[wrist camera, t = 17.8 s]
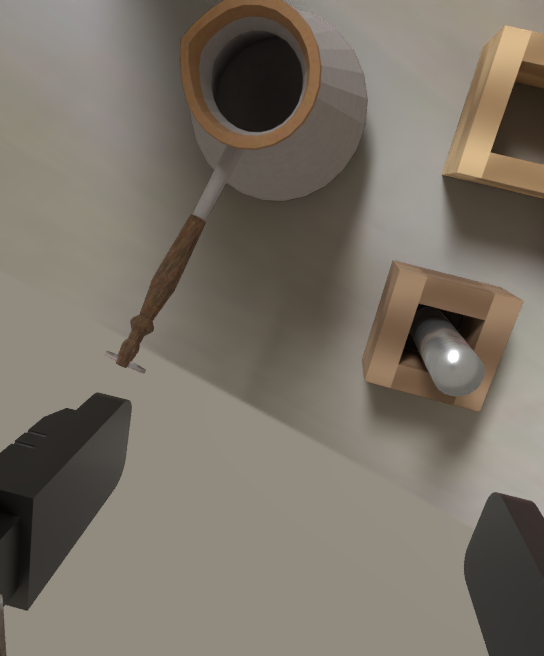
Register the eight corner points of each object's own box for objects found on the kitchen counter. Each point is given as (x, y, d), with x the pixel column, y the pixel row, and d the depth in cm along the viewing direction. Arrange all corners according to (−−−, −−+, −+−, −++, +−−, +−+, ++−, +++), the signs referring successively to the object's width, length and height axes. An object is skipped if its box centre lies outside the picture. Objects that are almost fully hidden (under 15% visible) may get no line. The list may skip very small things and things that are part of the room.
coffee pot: (242, -9, 32) (165, -165, 18) (396, 69, 33) (441, -26, 18) (132, 275, 39) (11, 325, 25) (261, 340, 39) (215, 427, 25)
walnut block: (392, 260, 36) (399, 270, 32) (501, 287, 35) (523, 301, 31) (362, 359, 38) (364, 381, 34) (463, 386, 38) (479, 411, 33)
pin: (415, 303, 36) (441, 343, 27) (452, 312, 36) (492, 356, 27) (403, 337, 37) (425, 388, 28) (439, 347, 37) (474, 401, 28)
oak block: (482, 47, 31) (505, 25, 27) (607, 75, 31) (650, 56, 27) (441, 174, 34) (456, 172, 30) (557, 202, 33) (590, 204, 29)
